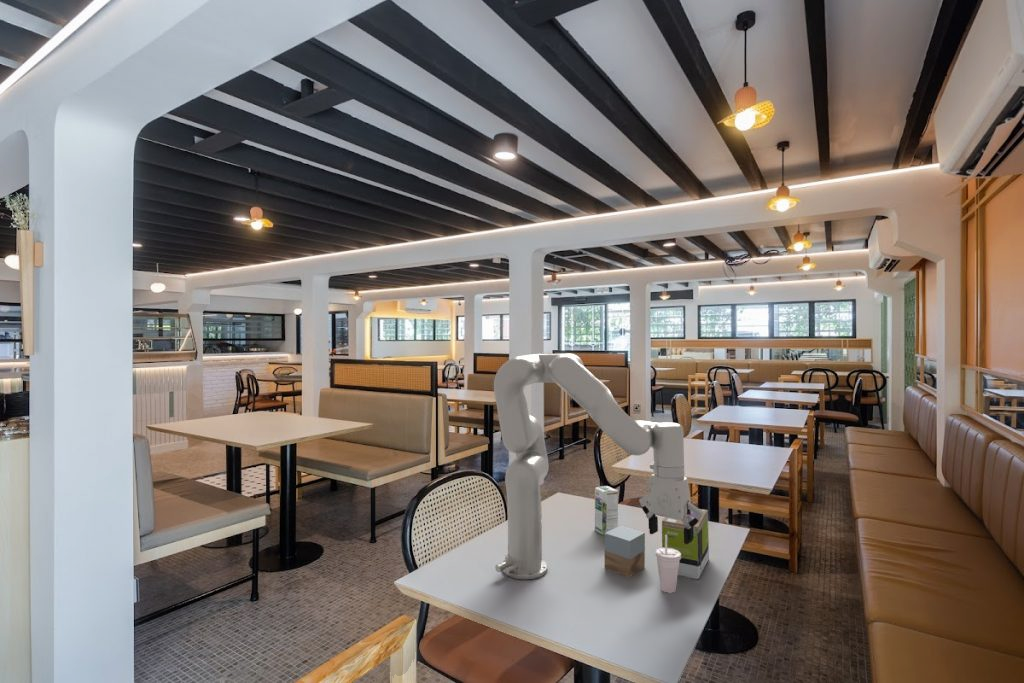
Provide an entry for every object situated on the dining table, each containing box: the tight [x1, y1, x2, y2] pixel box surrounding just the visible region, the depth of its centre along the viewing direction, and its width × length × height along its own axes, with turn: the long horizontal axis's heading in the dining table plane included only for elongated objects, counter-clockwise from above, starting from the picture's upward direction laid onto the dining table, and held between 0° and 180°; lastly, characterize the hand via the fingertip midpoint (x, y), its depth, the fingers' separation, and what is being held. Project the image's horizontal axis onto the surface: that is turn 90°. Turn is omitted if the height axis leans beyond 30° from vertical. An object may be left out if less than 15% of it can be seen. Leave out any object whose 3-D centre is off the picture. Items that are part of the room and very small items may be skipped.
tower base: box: [604, 550, 646, 578], centre depth 147 cm, size 8×8×5 cm
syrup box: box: [594, 485, 619, 537], centre depth 173 cm, size 6×6×14 cm
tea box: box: [661, 508, 710, 580], centre depth 148 cm, size 15×10×15 cm, turn 149°
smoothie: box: [655, 535, 681, 594], centre depth 134 cm, size 6×6×14 cm
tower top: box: [604, 525, 646, 559], centre depth 147 cm, size 8×8×5 cm
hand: (670, 537), depth 134 cm, fingers open, 9 cm apart
